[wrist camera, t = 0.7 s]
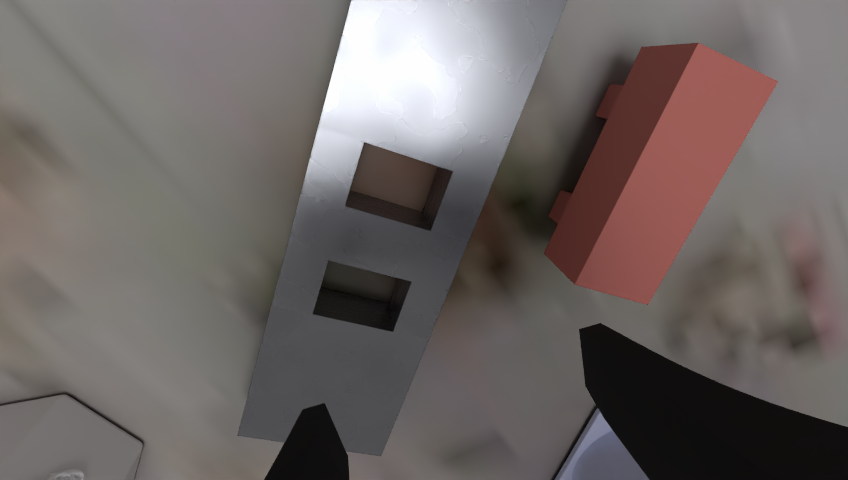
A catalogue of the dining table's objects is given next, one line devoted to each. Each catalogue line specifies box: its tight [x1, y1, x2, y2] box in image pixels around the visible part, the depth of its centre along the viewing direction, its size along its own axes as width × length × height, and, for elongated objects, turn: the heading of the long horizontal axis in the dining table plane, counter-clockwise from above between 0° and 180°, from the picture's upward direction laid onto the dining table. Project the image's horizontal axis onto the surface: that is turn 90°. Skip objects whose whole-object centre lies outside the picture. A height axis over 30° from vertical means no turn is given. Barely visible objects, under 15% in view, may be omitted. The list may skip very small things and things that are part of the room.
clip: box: [544, 43, 778, 305], centre depth 18 cm, size 4×9×5 cm, turn 160°
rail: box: [237, 0, 567, 456], centre depth 19 cm, size 7×22×2 cm, turn 160°
